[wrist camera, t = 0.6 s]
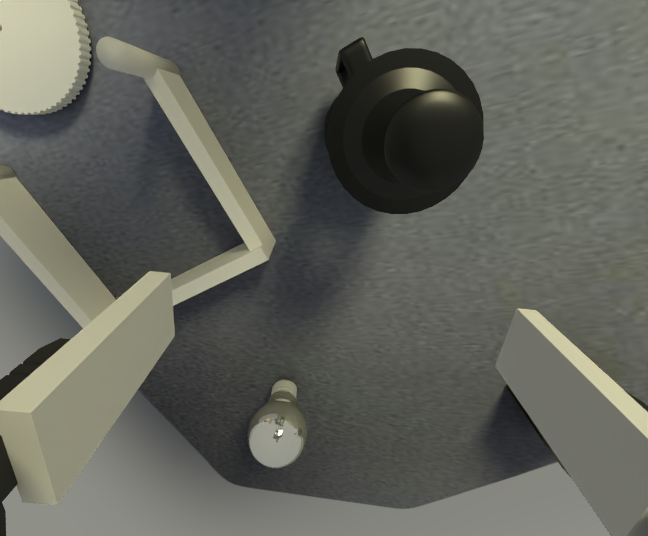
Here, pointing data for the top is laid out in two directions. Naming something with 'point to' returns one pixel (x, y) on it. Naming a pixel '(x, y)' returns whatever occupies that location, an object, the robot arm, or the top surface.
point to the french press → (402, 127)
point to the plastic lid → (41, 55)
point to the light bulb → (278, 428)
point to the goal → (185, 116)
